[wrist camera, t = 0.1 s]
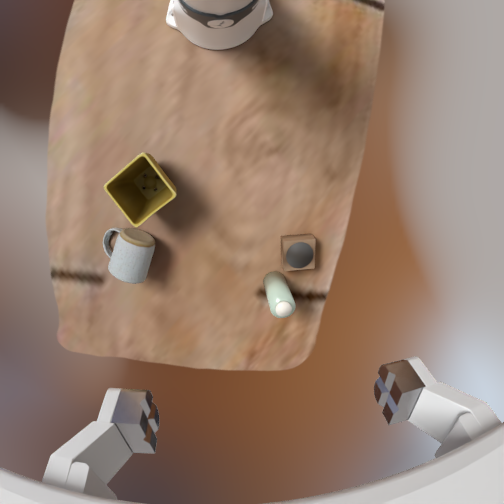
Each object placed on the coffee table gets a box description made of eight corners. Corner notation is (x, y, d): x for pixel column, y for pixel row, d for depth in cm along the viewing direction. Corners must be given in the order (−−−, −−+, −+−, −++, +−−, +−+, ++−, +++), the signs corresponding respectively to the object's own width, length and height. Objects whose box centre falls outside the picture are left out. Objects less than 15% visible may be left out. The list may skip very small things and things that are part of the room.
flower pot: (155, 147, 51) (143, 150, 42) (184, 185, 54) (177, 195, 45) (119, 177, 52) (102, 186, 44) (147, 214, 55) (135, 229, 47)
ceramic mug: (161, 234, 57) (152, 249, 50) (149, 271, 59) (140, 290, 52) (110, 216, 54) (95, 228, 47) (102, 253, 57) (87, 269, 50)
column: (262, 272, 62) (271, 300, 52) (284, 270, 62) (296, 297, 52) (263, 291, 63) (271, 321, 53) (284, 289, 64) (296, 318, 54)
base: (280, 236, 59) (283, 241, 56) (311, 233, 59) (315, 239, 57) (281, 264, 61) (284, 271, 58) (310, 261, 62) (314, 268, 59)
